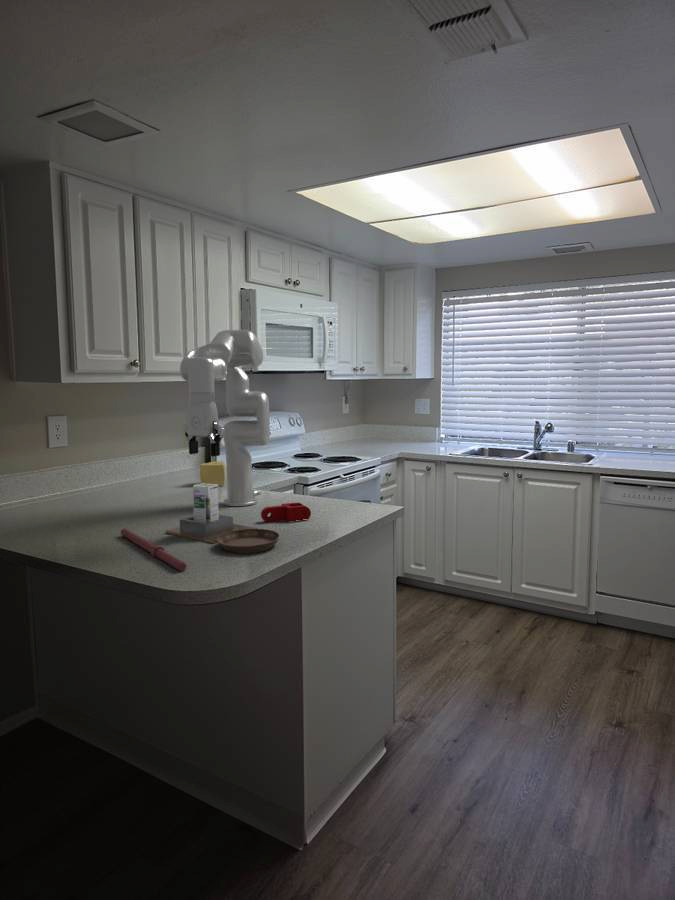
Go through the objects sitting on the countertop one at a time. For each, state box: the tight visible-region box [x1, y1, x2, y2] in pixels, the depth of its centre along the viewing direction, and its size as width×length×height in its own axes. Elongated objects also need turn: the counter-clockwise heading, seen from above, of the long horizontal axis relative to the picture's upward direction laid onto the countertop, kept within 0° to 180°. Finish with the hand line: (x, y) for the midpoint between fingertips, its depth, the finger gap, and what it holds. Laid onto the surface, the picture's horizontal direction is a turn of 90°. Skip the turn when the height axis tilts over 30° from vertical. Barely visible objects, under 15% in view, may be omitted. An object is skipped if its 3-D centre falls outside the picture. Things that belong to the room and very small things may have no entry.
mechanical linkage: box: [260, 501, 312, 523], centre depth 208 cm, size 16×7×5 cm, turn 113°
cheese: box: [199, 461, 226, 487], centre depth 278 cm, size 10×11×10 cm
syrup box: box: [192, 482, 220, 523], centre depth 191 cm, size 6×6×14 cm
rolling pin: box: [120, 527, 187, 572], centre depth 172 cm, size 45×3×3 cm, turn 37°
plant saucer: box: [217, 528, 281, 554], centre depth 177 cm, size 18×18×3 cm
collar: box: [165, 514, 259, 544], centre depth 193 cm, size 18×22×5 cm
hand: (204, 454), depth 189 cm, fingers open, 9 cm apart
